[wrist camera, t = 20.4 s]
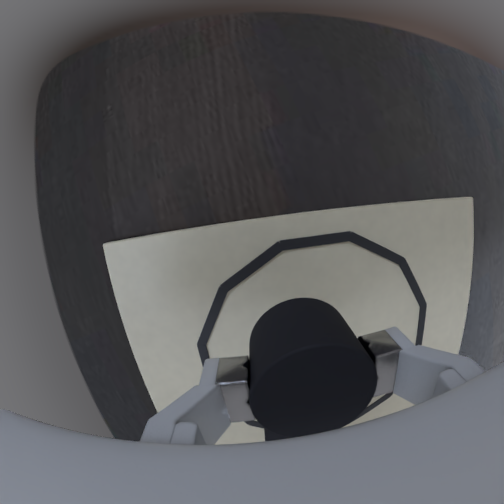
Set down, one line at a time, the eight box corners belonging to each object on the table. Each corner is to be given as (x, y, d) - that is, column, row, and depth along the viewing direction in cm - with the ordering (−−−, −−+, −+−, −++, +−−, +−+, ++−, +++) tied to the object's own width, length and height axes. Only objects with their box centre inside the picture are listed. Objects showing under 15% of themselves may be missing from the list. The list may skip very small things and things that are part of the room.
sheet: (217, 510, 20) (216, 515, 20) (107, 242, 14) (101, 244, 13) (408, 474, 20) (410, 478, 19) (467, 196, 14) (474, 197, 13)
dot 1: (256, 386, 11) (258, 445, 8) (241, 305, 10) (238, 356, 7) (345, 370, 11) (371, 424, 8) (345, 288, 10) (383, 330, 7)
